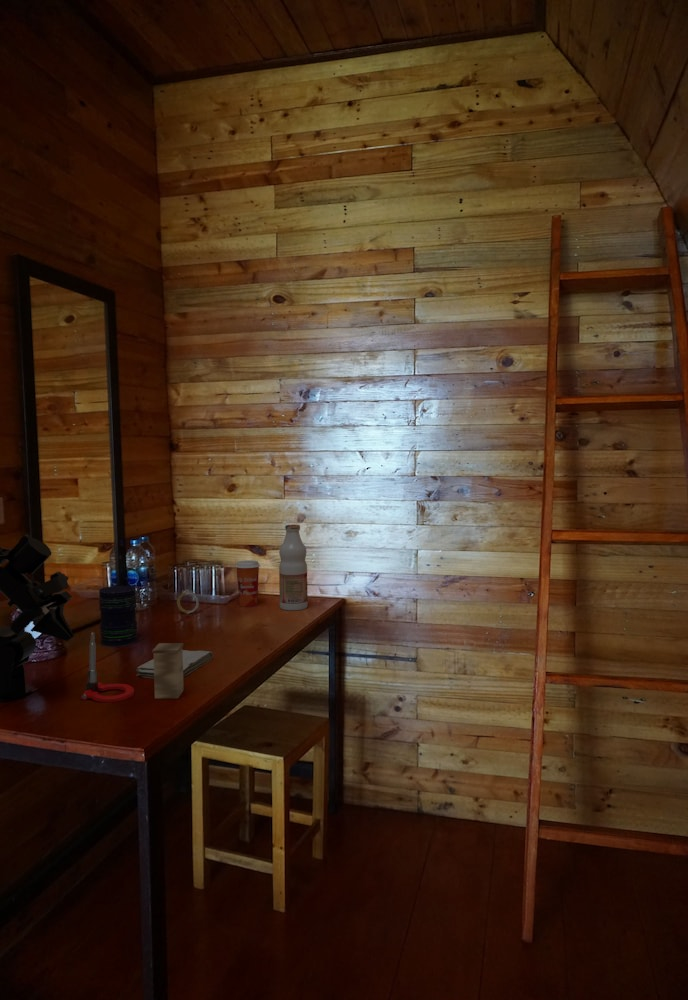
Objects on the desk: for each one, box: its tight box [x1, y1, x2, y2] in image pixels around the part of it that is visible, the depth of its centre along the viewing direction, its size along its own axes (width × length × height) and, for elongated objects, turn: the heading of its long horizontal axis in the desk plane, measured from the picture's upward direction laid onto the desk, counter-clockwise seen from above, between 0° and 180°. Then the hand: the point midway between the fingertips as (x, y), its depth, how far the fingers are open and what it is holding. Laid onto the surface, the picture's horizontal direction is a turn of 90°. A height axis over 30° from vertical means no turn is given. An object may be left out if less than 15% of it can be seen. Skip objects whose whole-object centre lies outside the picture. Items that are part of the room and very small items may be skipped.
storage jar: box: [98, 577, 138, 648], centre depth 190 cm, size 10×10×18 cm
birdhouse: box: [151, 642, 184, 699], centre depth 151 cm, size 5×9×11 cm, turn 0°
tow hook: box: [80, 631, 135, 703], centre depth 149 cm, size 9×14×10 cm
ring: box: [176, 588, 200, 614], centre depth 223 cm, size 7×3×8 cm, turn 83°
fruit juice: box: [278, 524, 309, 612], centre depth 229 cm, size 9×9×28 cm
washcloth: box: [136, 649, 214, 679], centre depth 168 cm, size 12×18×3 cm, turn 164°
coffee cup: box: [235, 559, 261, 608], centre depth 234 cm, size 8×8×15 cm
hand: (71, 638), depth 148 cm, fingers closed
